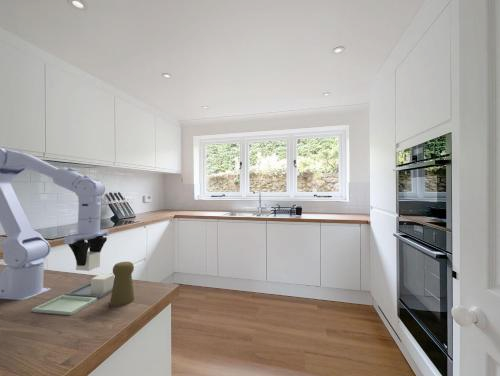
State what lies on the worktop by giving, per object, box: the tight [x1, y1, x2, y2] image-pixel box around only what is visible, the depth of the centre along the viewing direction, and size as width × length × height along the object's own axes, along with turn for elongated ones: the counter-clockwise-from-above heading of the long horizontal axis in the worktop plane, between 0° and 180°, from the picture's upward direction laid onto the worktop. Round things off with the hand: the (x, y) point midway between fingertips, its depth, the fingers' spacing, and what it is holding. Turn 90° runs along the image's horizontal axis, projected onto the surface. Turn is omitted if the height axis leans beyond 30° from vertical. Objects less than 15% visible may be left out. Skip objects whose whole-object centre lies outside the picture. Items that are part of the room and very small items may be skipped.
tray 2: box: [64, 281, 112, 300], centre depth 71 cm, size 11×9×1 cm
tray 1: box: [31, 294, 98, 316], centre depth 62 cm, size 11×8×1 cm
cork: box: [109, 261, 135, 307], centre depth 65 cm, size 6×6×11 cm
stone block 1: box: [75, 251, 101, 272], centre depth 71 cm, size 4×4×4 cm
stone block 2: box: [90, 273, 115, 295], centre depth 71 cm, size 4×4×4 cm
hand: (87, 263), depth 71 cm, fingers closed on stone block 1, 4 cm apart
